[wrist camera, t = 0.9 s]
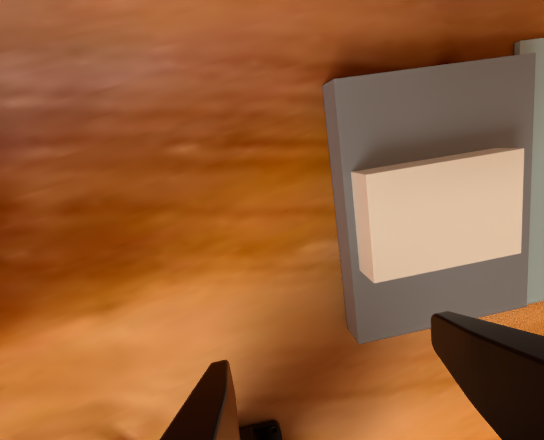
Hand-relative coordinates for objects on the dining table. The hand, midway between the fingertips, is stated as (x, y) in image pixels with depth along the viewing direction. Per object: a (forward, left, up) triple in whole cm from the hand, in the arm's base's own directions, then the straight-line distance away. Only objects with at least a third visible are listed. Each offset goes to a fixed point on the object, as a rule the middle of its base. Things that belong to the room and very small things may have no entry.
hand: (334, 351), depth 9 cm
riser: (0, -11, -13) cm, 17 cm away
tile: (0, -10, -10) cm, 14 cm away
